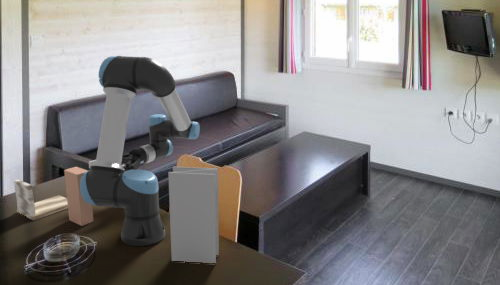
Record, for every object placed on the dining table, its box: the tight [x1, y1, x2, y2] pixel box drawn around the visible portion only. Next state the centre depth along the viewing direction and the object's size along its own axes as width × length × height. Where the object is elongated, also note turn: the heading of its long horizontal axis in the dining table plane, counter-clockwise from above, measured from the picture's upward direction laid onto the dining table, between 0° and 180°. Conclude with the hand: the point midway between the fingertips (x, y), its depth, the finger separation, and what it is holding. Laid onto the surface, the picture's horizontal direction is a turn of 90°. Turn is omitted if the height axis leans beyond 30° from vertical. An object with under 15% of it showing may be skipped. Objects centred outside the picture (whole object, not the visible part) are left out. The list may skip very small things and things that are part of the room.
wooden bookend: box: [13, 178, 68, 221], centre depth 186 cm, size 12×18×14 cm, turn 144°
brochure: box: [168, 166, 220, 264], centre depth 148 cm, size 14×6×30 cm, turn 84°
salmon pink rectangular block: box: [63, 166, 94, 227], centre depth 175 cm, size 8×5×20 cm, turn 54°
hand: (100, 168), depth 184 cm, fingers open, 13 cm apart
